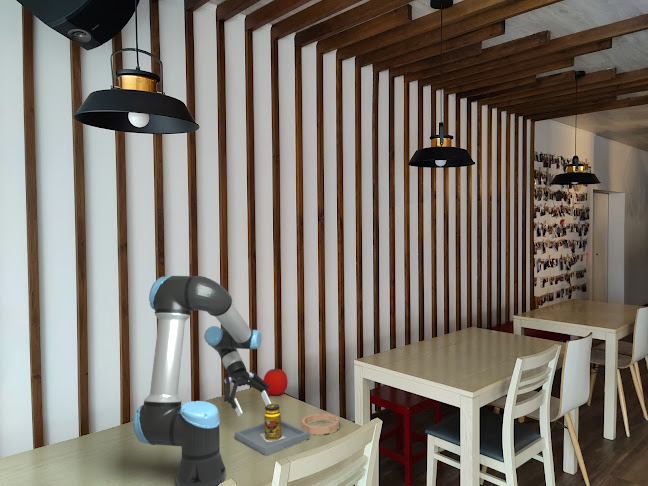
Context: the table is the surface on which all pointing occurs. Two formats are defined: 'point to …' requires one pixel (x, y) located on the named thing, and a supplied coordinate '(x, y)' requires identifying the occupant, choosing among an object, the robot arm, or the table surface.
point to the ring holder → (324, 428)
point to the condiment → (272, 423)
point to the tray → (266, 448)
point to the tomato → (276, 381)
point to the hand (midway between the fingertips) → (255, 410)
